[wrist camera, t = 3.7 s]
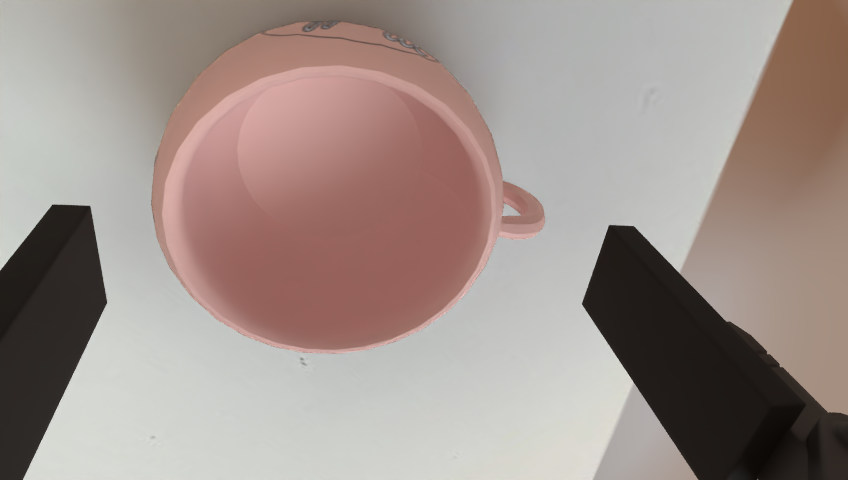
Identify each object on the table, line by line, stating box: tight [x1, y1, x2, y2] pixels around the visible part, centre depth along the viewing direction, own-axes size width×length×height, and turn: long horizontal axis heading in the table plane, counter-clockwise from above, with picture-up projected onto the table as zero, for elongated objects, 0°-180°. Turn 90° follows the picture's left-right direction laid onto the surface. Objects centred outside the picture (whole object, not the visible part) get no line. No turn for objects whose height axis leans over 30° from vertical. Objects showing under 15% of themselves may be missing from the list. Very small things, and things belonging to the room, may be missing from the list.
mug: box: [151, 21, 545, 354], centre depth 18 cm, size 12×10×6 cm
